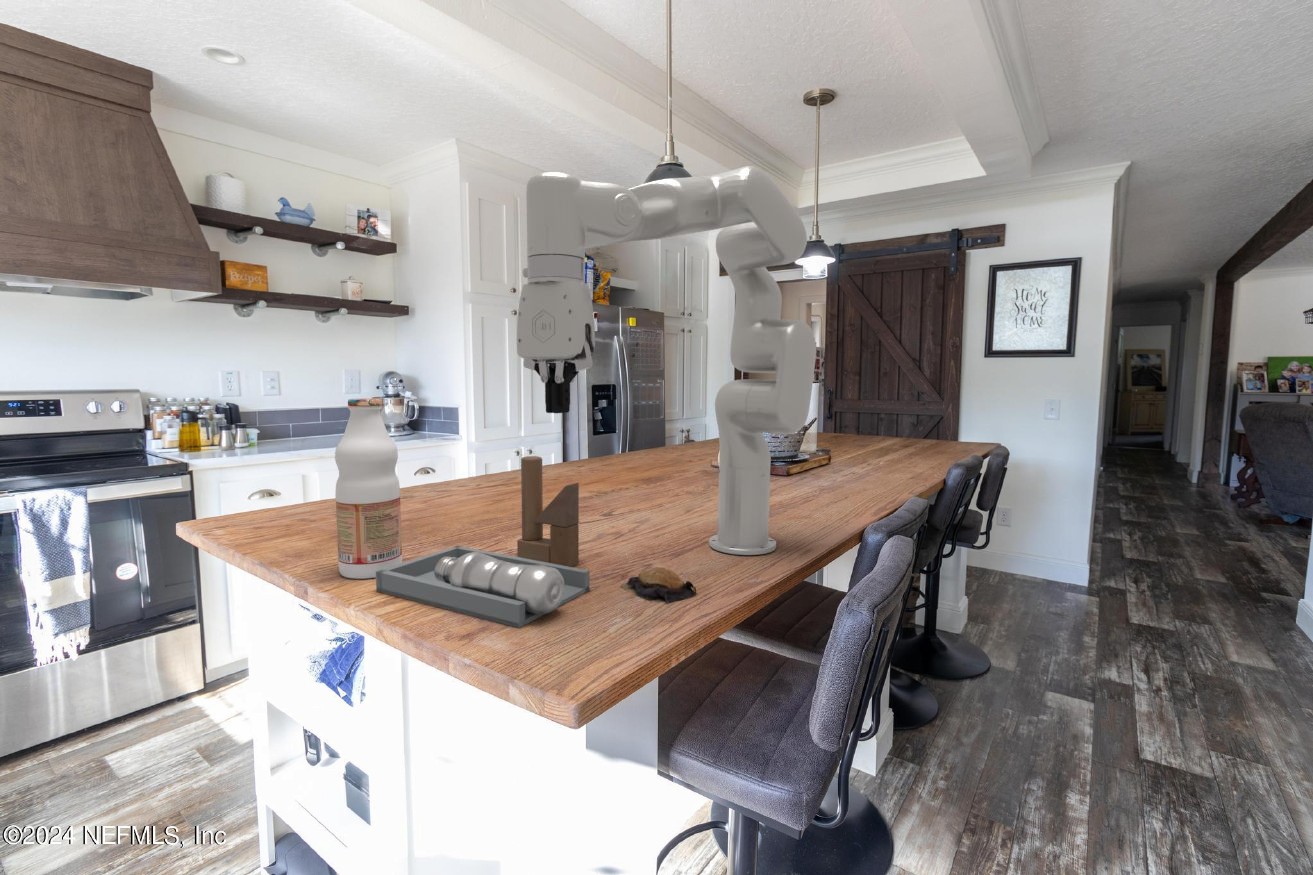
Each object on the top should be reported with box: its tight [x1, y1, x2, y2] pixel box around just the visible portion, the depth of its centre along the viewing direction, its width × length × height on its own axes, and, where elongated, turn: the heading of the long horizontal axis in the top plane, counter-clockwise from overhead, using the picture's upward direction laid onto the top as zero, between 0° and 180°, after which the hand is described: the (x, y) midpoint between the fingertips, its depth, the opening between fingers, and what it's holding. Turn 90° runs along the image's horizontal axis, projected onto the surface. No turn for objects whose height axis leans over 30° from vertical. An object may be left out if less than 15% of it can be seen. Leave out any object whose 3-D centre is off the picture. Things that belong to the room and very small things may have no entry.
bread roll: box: [619, 566, 699, 605], centre depth 92 cm, size 11×8×4 cm
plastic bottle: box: [434, 552, 565, 615], centre depth 85 cm, size 6×7×20 cm
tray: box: [375, 545, 591, 629], centre depth 91 cm, size 16×27×3 cm, turn 62°
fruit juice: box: [334, 398, 403, 580], centre depth 99 cm, size 9×9×28 cm
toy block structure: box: [516, 455, 580, 568], centre depth 105 cm, size 4×11×18 cm, turn 61°
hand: (557, 412), depth 83 cm, fingers closed
